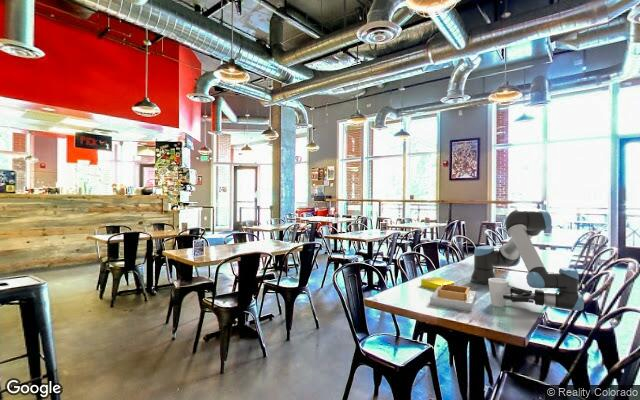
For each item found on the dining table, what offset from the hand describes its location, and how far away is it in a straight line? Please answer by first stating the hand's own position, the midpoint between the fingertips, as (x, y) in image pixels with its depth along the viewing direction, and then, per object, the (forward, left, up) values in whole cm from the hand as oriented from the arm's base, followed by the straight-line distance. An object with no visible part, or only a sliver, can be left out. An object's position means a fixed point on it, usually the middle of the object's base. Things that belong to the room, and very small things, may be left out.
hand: (495, 291), depth 180 cm
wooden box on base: (+6, -20, -7) cm, 22 cm away
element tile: (-20, -33, -8) cm, 39 cm away
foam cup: (0, +1, -7) cm, 7 cm away
